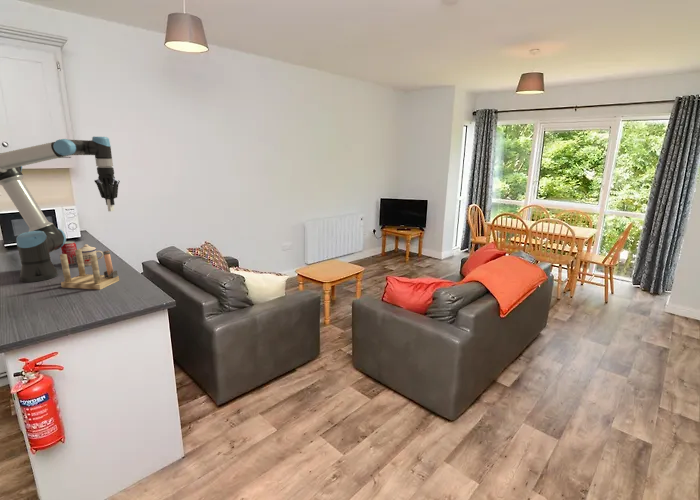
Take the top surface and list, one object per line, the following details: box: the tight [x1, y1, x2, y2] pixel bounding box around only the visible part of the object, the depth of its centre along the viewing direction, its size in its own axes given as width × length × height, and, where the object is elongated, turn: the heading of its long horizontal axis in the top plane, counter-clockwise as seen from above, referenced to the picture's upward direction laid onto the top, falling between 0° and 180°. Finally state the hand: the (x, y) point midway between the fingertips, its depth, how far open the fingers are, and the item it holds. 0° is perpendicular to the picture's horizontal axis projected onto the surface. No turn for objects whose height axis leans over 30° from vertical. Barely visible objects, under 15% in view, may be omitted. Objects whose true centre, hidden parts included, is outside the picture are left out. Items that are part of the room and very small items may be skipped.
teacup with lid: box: [79, 243, 104, 267], centre depth 216 cm, size 12×9×12 cm
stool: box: [59, 248, 120, 290], centre depth 183 cm, size 20×13×16 cm, turn 85°
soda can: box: [60, 240, 78, 266], centre depth 214 cm, size 7×7×13 cm
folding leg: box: [102, 250, 114, 277], centre depth 186 cm, size 3×3×13 cm
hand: (111, 210), depth 203 cm, fingers closed
